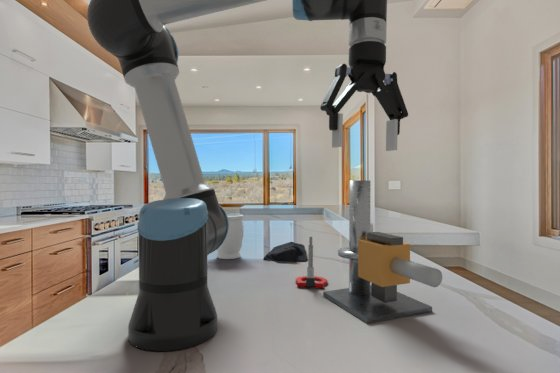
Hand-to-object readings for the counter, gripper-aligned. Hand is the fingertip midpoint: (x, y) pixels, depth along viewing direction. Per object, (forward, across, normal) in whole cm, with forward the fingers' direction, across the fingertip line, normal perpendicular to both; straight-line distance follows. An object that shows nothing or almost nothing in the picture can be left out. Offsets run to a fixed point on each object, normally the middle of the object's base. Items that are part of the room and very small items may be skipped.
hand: (365, 149), depth 72 cm
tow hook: (+34, -1, +20) cm, 40 cm away
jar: (+34, -14, +59) cm, 70 cm away
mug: (+34, +29, +39) cm, 59 cm away
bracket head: (+27, +4, -6) cm, 28 cm away
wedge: (+31, +5, -1) cm, 32 cm away
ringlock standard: (+34, +4, +3) cm, 34 cm away
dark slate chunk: (+35, +7, +55) cm, 65 cm away
